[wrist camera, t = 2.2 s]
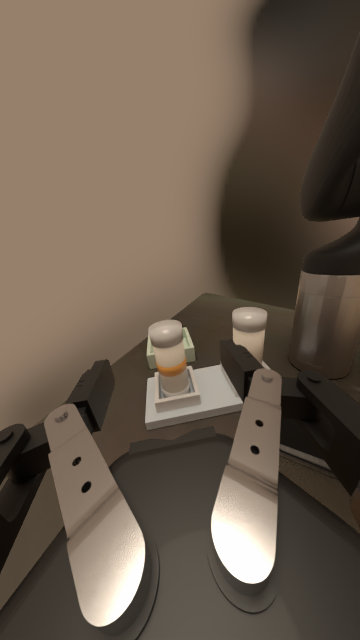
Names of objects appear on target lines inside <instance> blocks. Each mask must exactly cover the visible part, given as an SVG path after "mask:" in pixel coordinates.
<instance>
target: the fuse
mask: <svg viewBox="0 0 360 640" xmlns="http://www.w3.org/2000/svg"><path fill="white" fill-rule="evenodd" d="M266 322H267V312H266V311H265V310H263V309H260V308H255V307H243V308H238V309H236V310H234V311H233V316H232V326H233V342H234V343H235V344H236V345H239V344H240V345H242V346H244V347H245V348H247V350H248V351H249V352H250V353H251V354H252V355H253V357H255V358H256V359H257V360H258V361H259V363H260V364H261V365H262V358H263V347H264V336H265V328H266Z"/></svg>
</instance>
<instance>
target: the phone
mask: <svg viewBox="0 0 360 640" xmlns="http://www.w3.org/2000/svg"><path fill="white" fill-rule="evenodd" d="M279 455H280V456H282V457H285V458H287V459H289V460H292V461H294V462H296V463H299V464H301V465H304V466H306V467H308V468H311V469H313V470H316V471H318V472H320V473H323V474H325V475H328V476H330V477H332V478H335V479H337V480H338V478H337V477H336V476H335V474H334V473H333V472H332V470H331V469H330V468H329V466H328V465H327V464H326V462H325V461H324V460H323V458H322V457H321V455H320V454H319V453H318V451H317V450H316V449H315V447H314V446H313V445H312V443H311V442H310V441H309V439H308V438H307V437H306V435H305V434H304V433H303V431H302V430H301V429H300V427H299V426H298V425H297V423H296V422H295V420H294V419H290V418H281V425H280V446H279Z"/></svg>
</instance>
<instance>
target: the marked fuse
mask: <svg viewBox="0 0 360 640" xmlns="http://www.w3.org/2000/svg"><path fill="white" fill-rule="evenodd" d="M148 331H149V336H150V340H151V344H152V346H153V350H154V354H155V359H156V365H157V369H158V372H159V377H160V381H161V388H162V393H163V397H164V398H168V397H173V396H178V395H183V394H188V393H190V392H191V389H190V382H189V378H188V372H187V363H186V356H185V351H184V344H183V332H182V325H181V323H180V322H179V321H176V320H164V321H159V322H157V323H154V324H153V325H151V326H150V327H149V329H148Z"/></svg>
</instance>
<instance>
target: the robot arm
mask: <svg viewBox="0 0 360 640" xmlns="http://www.w3.org/2000/svg"><path fill="white" fill-rule="evenodd" d="M300 209H301V212H302V215H303V216H304V218H305V219H307V220H309V221H317V222H322V221H330V220H339V219H346V218H353V217H359V220H358V222H357V224H356V226H355V227H354V228H353V229H352V230H351V231H350V232H348V233H347V234H345V235H344V236H342V237H341V238H339V239H337V240H335V241H333V242H331V243H329V244H326V245H323V246H320V247H318V248H315V249H313V250H310V251H309V252H307V253H306V254H305V256H304V258H303V264H302V270H301V276H300V282H299V290H298V296H297V302H296V309H295V315H294V321H293V328H292V334H291V340H290V347H289V354H288V359H289V361H290V363H291V364H292V365H293V366H294V367H296V368H297V369H299V370H301V372H299V373H298V376H297V378H285V377H281V376H280V375H279V374H278V373H277V372H275V371H273V370H270V369H265V368H264V367H263V366H262V365H261V364H260V363H259V361H258V360H257V359H256V358H255V357H253V355H252V354H251V353H250V352H249V351H248V350H247V348H245V347H244V346H242V345H240V344H239V345H236V344H235V343H234V342H233V340H232V339H227V340H221V341H220V359H221V364H222V367H223V369H224V370H225V372H226V374H227V376H228V377H229V379H230V381H231V383H232V384H233V386H234V388H235V390H236V391H237V393H238V395H239V397H240V398H241V400H242V402H243V403H244V405H243V408H242V412H241V416H240V420H239V423H238V427H237V431H236V434H235V438H232V437H230V436H227V435H224V434H219V433H215V430H214V427H213V426H212V427H207V428H202V429H197V430H193V431H191V432H189V433H187V434H185V435H183V436H181V437H179V438H177V439H175V440H160V439H148V440H144V441H139V442H134V443H130V449H129V452H127V453H125V454H124V455H122V456H121V457H119V458H118V459H117V460H116V461H115V462H113V463H112V464H111V465H110V466H109V468H108V466H107V464H106V463H105V461H104V459H103V457H102V455H101V453H100V451H99V449H98V447H97V445H96V443H95V442H94V440H93V438H92V433H93V432H97V431H101V428H102V424H103V421H104V418H105V415H106V411H107V408H108V405H109V402H110V398H111V395H112V392H113V389H114V385H115V379H114V375H113V372H112V369H111V366H110V363H109V361H108V360H107V359H106V360H100V361H96V362H95V363H94V365H93V366H92V368H91V369H90V370H87V371H86V372H85V373H84V374H83V375H82V376H81V378H80V380H79V382H78V383H77V385H76V387H75V388H74V390H73V391H72V393H71V395H70V396H69V398H68V400H67V401H66V403H65V405H62V406H60V407H58V408H57V409H55V410H54V411H52V412H51V413H50V414H49V415H48V417H47V418H46V419H45V422H43V423H41V424H39V425H36V426H34V427H32V428H29V429H26V427H25V426H24V425H23V424H15V425H12V426H9V427H7V428H5V429H4V430H2V431H0V485H1V483H2V482H3V480H4V478H5V477H6V476H7V477H8V480H7V482H6V483H5V485H4V487H3V488H2V490H1V492H0V573H1V570H2V568H3V566H4V564H5V561H6V559H7V557H8V555H9V553H10V550H11V548H12V546H13V544H14V541H15V539H16V537H17V535H18V533H19V530H20V528H21V526H22V524H23V521H24V519H25V517H26V515H27V512H28V510H29V508H30V506H31V504H32V501H33V499H34V497H35V495H36V492H37V490H38V488H39V486H40V484H41V481H42V479H43V477H44V475H45V472H46V470H47V469H49V468H51V469H52V474H53V478H54V482H55V486H56V491H57V495H58V499H59V503H60V508H61V512H62V516H63V520H64V527H63V528H62V529H61V531H60V532H59V533H58V535H57V536H56V537H55V539H54V540H53V541H52V543H51V544H50V545H49V546H48V548H47V549H46V550H45V552H44V553H43V554H42V556H41V557H40V558H39V560H38V561H37V562H36V564H35V565H34V566H33V568H32V569H31V570H30V572H29V573H28V574H27V576H26V577H25V578H24V580H23V581H22V582H21V584H20V585H19V586H18V588H17V589H16V590H15V592H14V593H13V594H12V596H11V597H10V598H9V600H8V601H7V602H6V604H5V605H4V606H3V607H2V609H1V610H0V640H360V534H359V533H358V532H357V531H356V530H355V529H354V528H352V527H351V526H350V525H349V524H347V523H346V522H345V521H344V520H342V519H341V518H340V517H338V516H337V515H336V514H334V513H333V512H332V511H330V510H329V509H328V508H326V507H325V506H324V505H323V504H321V503H320V502H319V501H317V500H316V499H315V498H313V497H312V496H311V495H309V494H308V493H307V492H305V491H304V490H303V489H301V488H300V487H299V486H298V485H296V484H295V483H294V482H292V481H291V480H290V479H288V478H287V477H286V476H284V475H283V474H282V473H280V472H279V471H278V467H279V446H280V425H281V418H290V419H294V420H295V422H296V423H297V425H298V426H299V427H300V429H301V430H302V431H303V433H304V434H305V435H306V437H307V438H308V439H309V441H310V442H311V443H312V445H313V446H314V447H315V449H316V450H317V451H318V453H319V454H320V455H321V457H322V458H323V460H324V461H325V462H326V464H327V465H328V466H329V468H330V469H331V470H332V472H333V473H334V474H335V476H336V477H337V478H338V480H339V481H340V482H341V484H342V485H343V486H344V488H345V489H346V490H347V492H348V493H349V495H350V496H351V498H350V508H351V512H352V514H353V516H354V518H355V520H356V521H357V523H358V525H359V527H360V404H359V403H358V402H356V401H355V400H354V399H353V398H351V397H350V396H349V395H348V394H346V393H345V392H344V391H343V390H342V389H340V388H339V387H338V386H337V385H335V384H334V383H333V382H332V381H330V380H329V379H338V378H343V377H345V376H347V375H348V373H349V372H350V369H351V366H352V363H353V360H354V357H355V354H356V351H357V349H358V346H359V343H360V32H359V35H358V38H357V41H356V43H355V47H354V49H353V52H352V55H351V58H350V61H349V63H348V66H347V69H346V72H345V75H344V78H343V80H342V83H341V85H340V88H339V91H338V93H337V96H336V98H335V101H334V103H333V106H332V108H331V110H330V113H329V115H328V118H327V120H326V122H325V125H324V127H323V129H322V132H321V134H320V137H319V139H318V142H317V144H316V146H315V149H314V151H313V154H312V156H311V159H310V161H309V164H308V167H307V169H306V173H305V176H304V179H303V183H302V187H301V193H300Z"/></svg>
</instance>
